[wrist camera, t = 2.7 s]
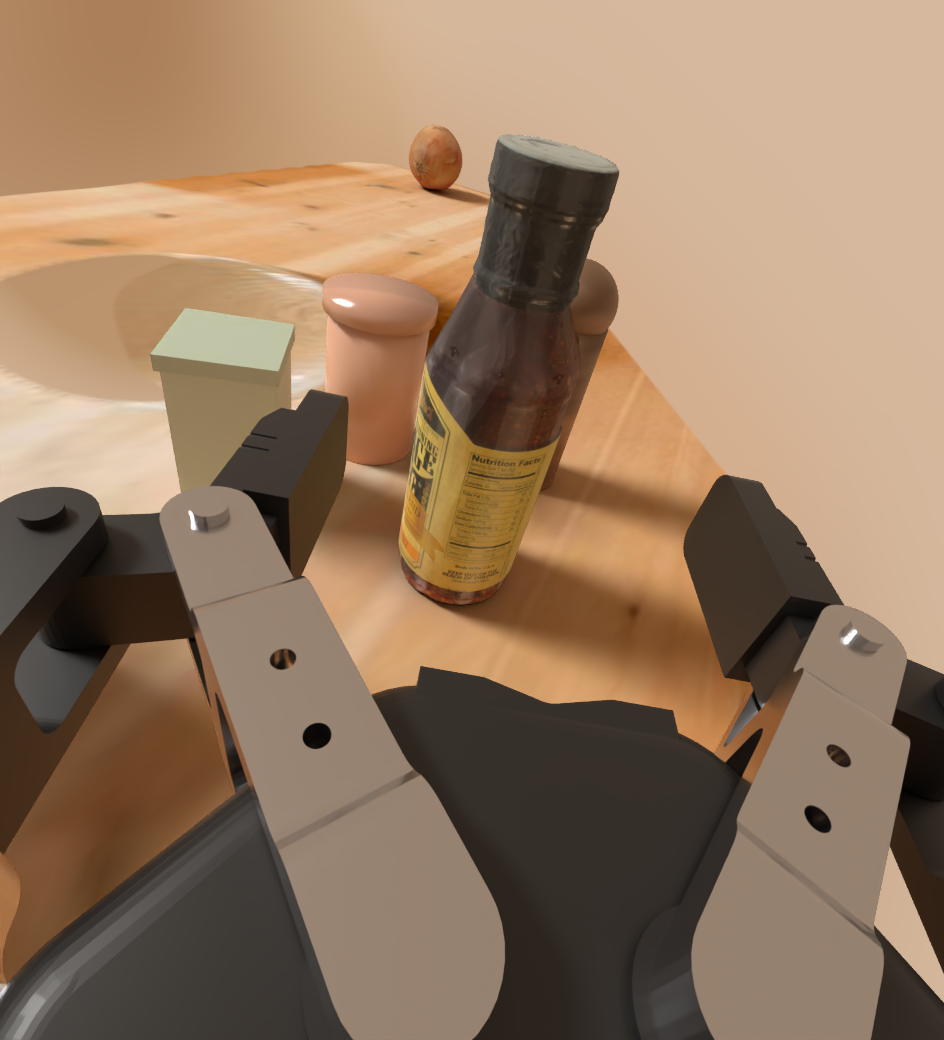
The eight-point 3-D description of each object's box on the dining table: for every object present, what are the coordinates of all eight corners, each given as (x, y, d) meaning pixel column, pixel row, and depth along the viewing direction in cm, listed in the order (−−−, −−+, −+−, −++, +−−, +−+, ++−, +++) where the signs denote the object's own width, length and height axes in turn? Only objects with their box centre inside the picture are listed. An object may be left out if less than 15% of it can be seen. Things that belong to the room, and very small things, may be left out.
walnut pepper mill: (489, 484, 37) (550, 262, 28) (492, 447, 41) (547, 240, 32) (555, 498, 38) (637, 283, 28) (552, 460, 41) (624, 258, 32)
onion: (465, 194, 108) (475, 132, 101) (444, 199, 100) (454, 134, 94) (420, 180, 109) (427, 118, 103) (396, 184, 102) (403, 118, 95)
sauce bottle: (410, 519, 33) (478, 115, 20) (511, 546, 33) (644, 158, 20) (379, 600, 28) (444, 128, 15) (499, 631, 28) (664, 187, 15)
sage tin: (178, 505, 30) (150, 354, 24) (204, 449, 34) (185, 308, 28) (281, 514, 31) (278, 371, 26) (295, 459, 35) (294, 324, 30)
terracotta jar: (306, 455, 36) (307, 300, 29) (333, 406, 41) (340, 264, 34) (407, 476, 36) (430, 328, 30) (422, 425, 41) (444, 289, 35)
